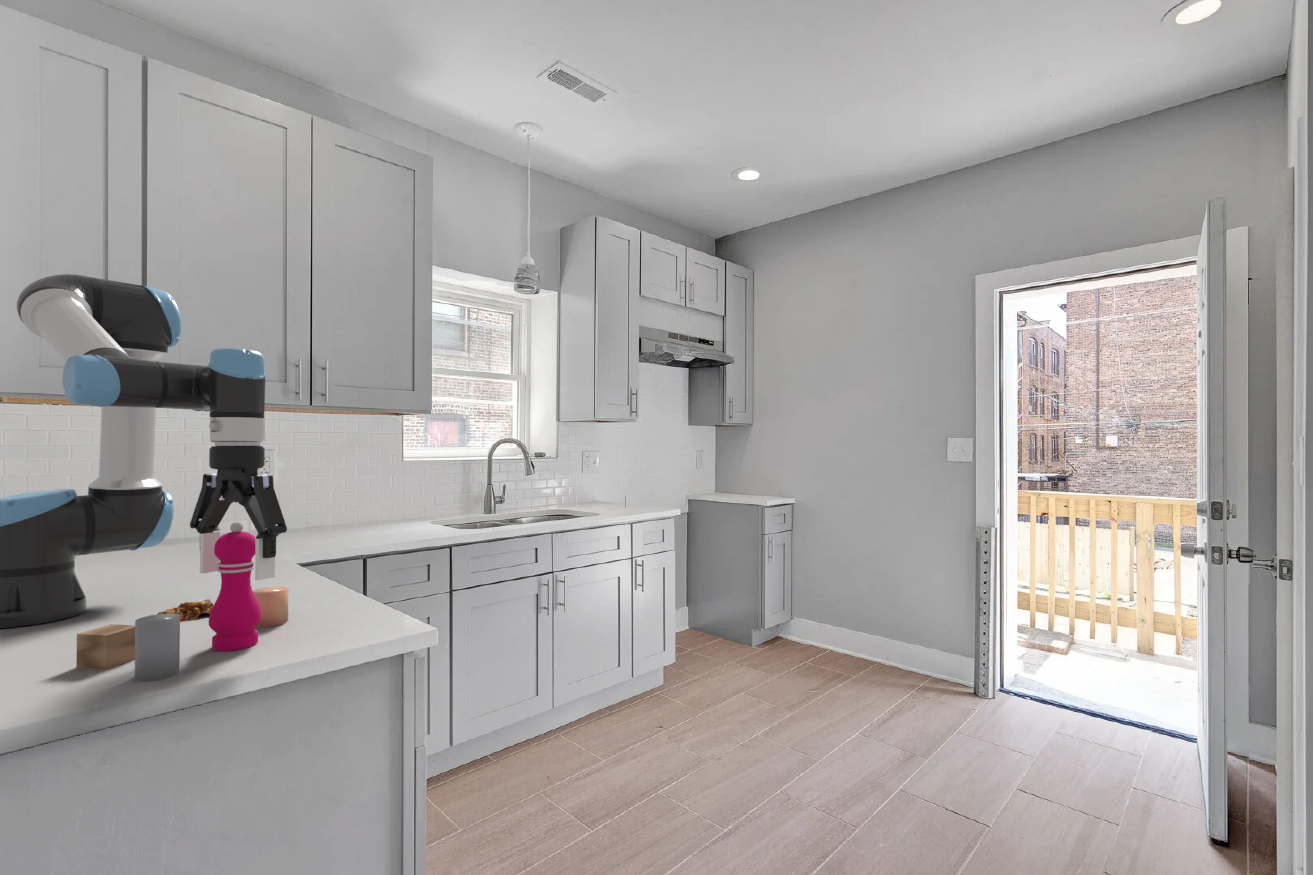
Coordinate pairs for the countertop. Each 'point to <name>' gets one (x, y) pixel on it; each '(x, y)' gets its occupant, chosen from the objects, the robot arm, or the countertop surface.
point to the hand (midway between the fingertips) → (236, 575)
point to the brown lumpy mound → (190, 609)
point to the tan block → (106, 646)
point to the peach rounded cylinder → (272, 605)
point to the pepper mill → (235, 592)
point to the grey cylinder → (157, 647)
